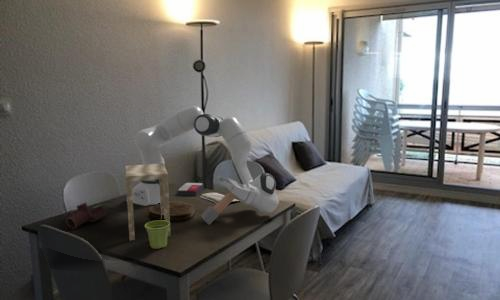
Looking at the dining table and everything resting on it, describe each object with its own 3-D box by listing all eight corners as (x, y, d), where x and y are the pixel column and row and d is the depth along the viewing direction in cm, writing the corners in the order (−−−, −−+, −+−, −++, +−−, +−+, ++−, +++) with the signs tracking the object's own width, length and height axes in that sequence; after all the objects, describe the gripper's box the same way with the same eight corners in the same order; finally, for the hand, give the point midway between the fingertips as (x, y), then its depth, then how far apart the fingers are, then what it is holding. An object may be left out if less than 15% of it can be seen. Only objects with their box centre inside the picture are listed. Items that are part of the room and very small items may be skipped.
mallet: (241, 186, 187) (235, 180, 186) (245, 189, 181) (239, 183, 180) (206, 220, 184) (200, 214, 183) (209, 225, 179) (202, 219, 178)
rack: (165, 219, 187) (163, 163, 183) (170, 236, 166) (167, 173, 162) (129, 222, 183) (125, 165, 178) (129, 240, 162) (125, 176, 158)
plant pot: (141, 250, 153) (140, 227, 152) (152, 240, 162) (150, 219, 161) (165, 251, 151) (164, 229, 150) (174, 241, 160) (173, 220, 159)
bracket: (109, 213, 188) (99, 193, 187) (80, 232, 174) (69, 211, 173) (101, 215, 192) (91, 197, 190) (72, 234, 178) (61, 214, 176)
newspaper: (198, 198, 223) (198, 193, 222) (217, 196, 230) (217, 192, 230) (222, 207, 205) (223, 202, 205) (242, 205, 213) (242, 200, 213)
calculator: (176, 189, 226) (185, 181, 240) (177, 197, 227) (185, 188, 241) (196, 190, 224) (203, 182, 239) (196, 197, 225) (204, 189, 239)
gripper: (243, 181, 195) (218, 169, 190) (256, 192, 175) (228, 178, 171) (237, 193, 195) (211, 181, 190) (249, 205, 175) (221, 192, 171)
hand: (220, 180), depth 180 cm, fingers open, 8 cm apart
